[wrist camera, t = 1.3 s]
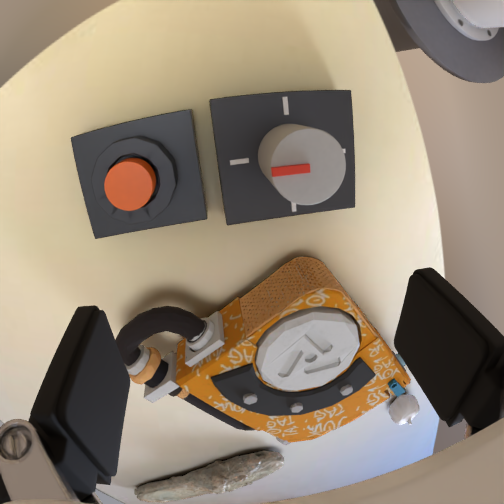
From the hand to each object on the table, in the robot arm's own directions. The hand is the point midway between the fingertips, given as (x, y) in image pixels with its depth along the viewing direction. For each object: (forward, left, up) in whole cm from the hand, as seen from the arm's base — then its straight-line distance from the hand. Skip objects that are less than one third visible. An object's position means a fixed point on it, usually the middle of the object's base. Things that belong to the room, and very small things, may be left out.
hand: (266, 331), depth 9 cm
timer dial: (-5, -2, -17) cm, 18 cm away
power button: (+7, -2, -16) cm, 18 cm away
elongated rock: (+14, +53, -20) cm, 58 cm away
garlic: (-23, +40, -20) cm, 50 cm away
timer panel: (-5, -2, -20) cm, 21 cm away
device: (-3, +20, -20) cm, 28 cm away
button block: (+7, -2, -20) cm, 21 cm away
